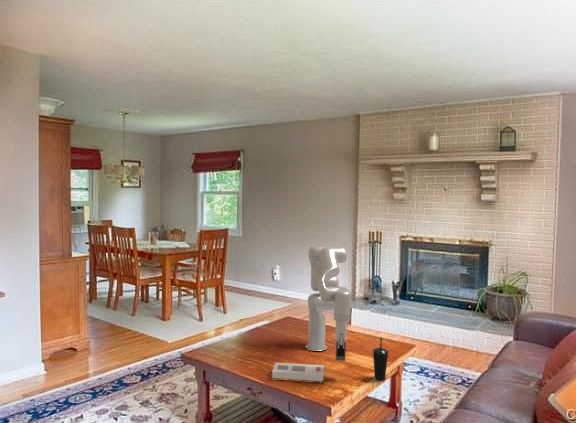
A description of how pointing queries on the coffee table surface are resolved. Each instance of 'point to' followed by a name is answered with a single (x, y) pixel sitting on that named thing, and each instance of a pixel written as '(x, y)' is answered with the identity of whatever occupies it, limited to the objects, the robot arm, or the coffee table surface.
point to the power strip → (298, 372)
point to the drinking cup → (380, 362)
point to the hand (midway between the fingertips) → (340, 353)
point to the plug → (344, 352)
